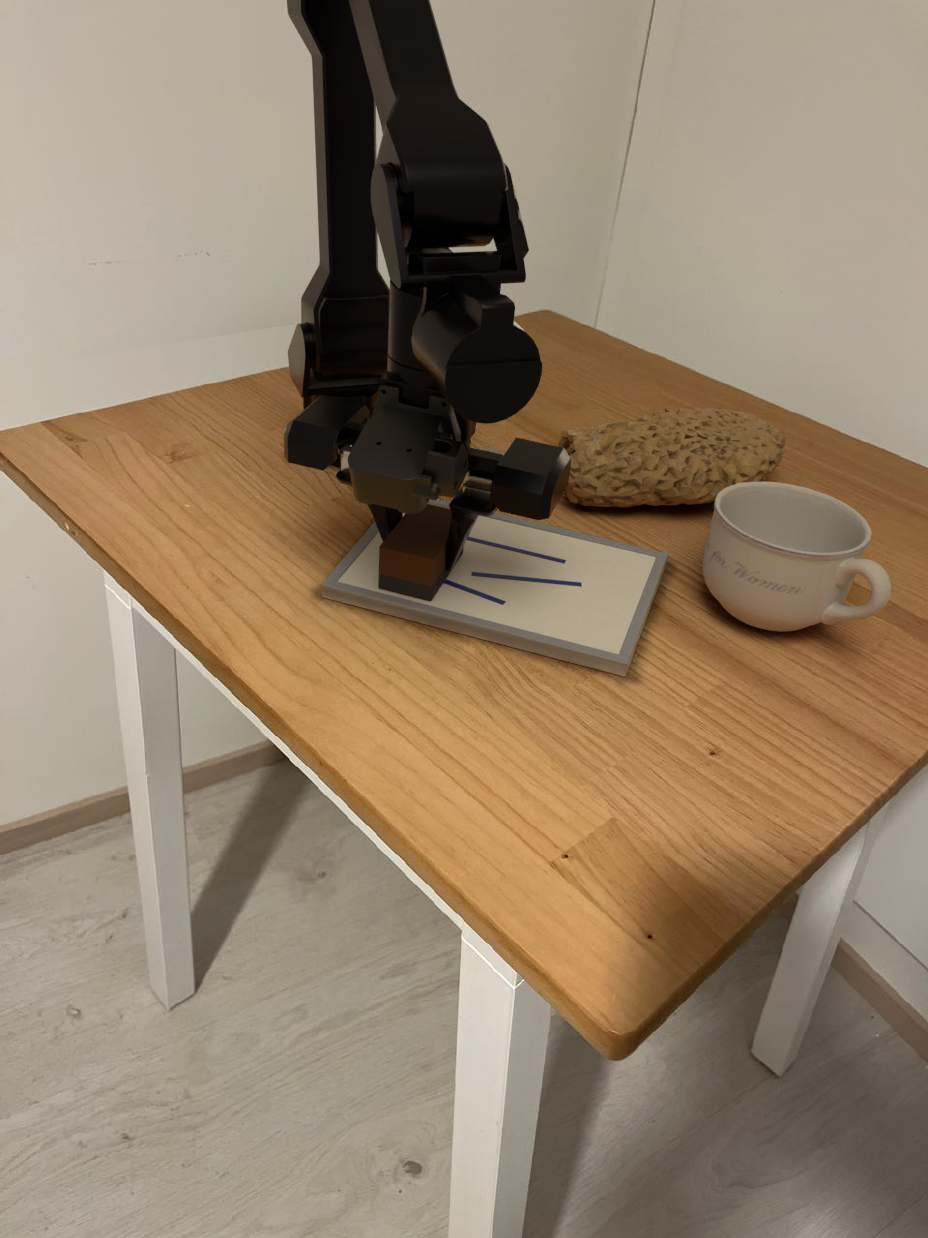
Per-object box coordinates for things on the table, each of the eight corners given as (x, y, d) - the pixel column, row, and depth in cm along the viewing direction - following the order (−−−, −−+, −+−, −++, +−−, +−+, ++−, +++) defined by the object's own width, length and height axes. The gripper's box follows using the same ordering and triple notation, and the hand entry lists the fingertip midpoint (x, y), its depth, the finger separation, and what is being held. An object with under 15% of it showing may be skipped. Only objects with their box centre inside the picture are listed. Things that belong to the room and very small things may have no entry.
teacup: (665, 579, 81) (685, 485, 76) (781, 556, 85) (807, 466, 80) (777, 692, 71) (808, 591, 66) (904, 660, 75) (942, 563, 70)
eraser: (377, 588, 75) (378, 546, 73) (413, 541, 81) (415, 500, 79) (431, 602, 74) (433, 559, 72) (463, 553, 80) (466, 512, 78)
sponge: (573, 540, 87) (820, 504, 86) (563, 447, 84) (820, 409, 83) (557, 489, 99) (774, 457, 98) (547, 406, 95) (772, 372, 95)
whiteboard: (321, 597, 76) (321, 583, 75) (400, 502, 88) (401, 490, 87) (625, 677, 71) (628, 663, 70) (666, 565, 82) (669, 552, 82)
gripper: (238, 371, 64) (250, 588, 73) (540, 435, 60) (513, 657, 69) (318, 312, 72) (320, 513, 81) (586, 365, 68) (557, 570, 77)
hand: (421, 561), depth 77 cm, fingers closed on eraser, 4 cm apart
